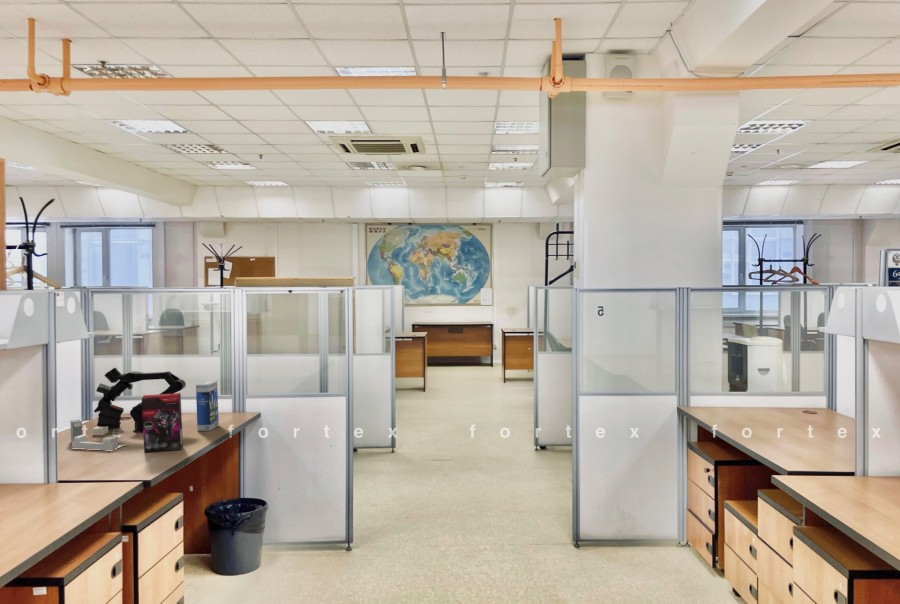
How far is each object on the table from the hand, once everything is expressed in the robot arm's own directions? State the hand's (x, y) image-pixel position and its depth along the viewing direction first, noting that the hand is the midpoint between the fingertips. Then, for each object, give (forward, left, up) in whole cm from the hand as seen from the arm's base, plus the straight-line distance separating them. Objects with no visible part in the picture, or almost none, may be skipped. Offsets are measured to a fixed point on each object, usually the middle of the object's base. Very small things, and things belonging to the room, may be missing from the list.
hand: (96, 408), depth 337 cm
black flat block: (+1, -10, -13) cm, 17 cm away
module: (-6, +18, -14) cm, 23 cm away
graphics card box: (-62, +17, -14) cm, 66 cm away
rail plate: (-26, +22, -13) cm, 37 cm away
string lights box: (-53, -25, -14) cm, 60 cm away
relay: (-5, +2, -14) cm, 15 cm away
